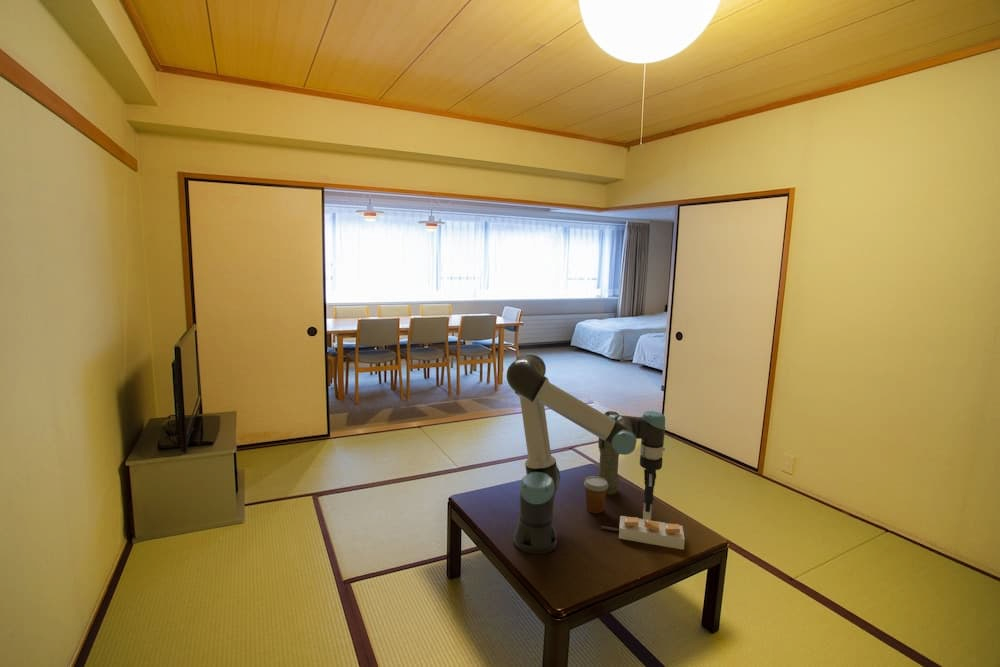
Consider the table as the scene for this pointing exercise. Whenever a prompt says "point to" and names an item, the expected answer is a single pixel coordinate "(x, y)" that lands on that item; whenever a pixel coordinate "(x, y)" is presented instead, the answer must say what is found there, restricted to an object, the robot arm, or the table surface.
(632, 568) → the table surface
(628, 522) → the orange block
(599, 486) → the disposable coffee cup
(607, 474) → the stone tower
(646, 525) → the orange block
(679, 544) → the power strip
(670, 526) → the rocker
